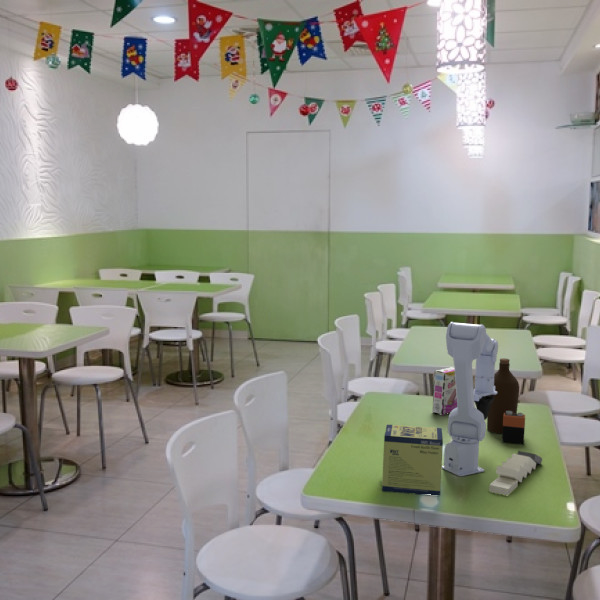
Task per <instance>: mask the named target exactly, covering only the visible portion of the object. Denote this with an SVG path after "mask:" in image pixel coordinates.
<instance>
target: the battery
mask: <svg viewBox="0 0 600 600" xmlns="http://www.w3.org/2000/svg"><path fill="white" fill-rule="evenodd" d="M525 426H526V414H524V413H523V412H517V414H516V413H512V411H506V413H504V415H503V432H502V434H501V442H502V443H507V444H513V443H514V444H515V445H524V444H525V443H524V442H525V430H526V427H525Z"/></svg>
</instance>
